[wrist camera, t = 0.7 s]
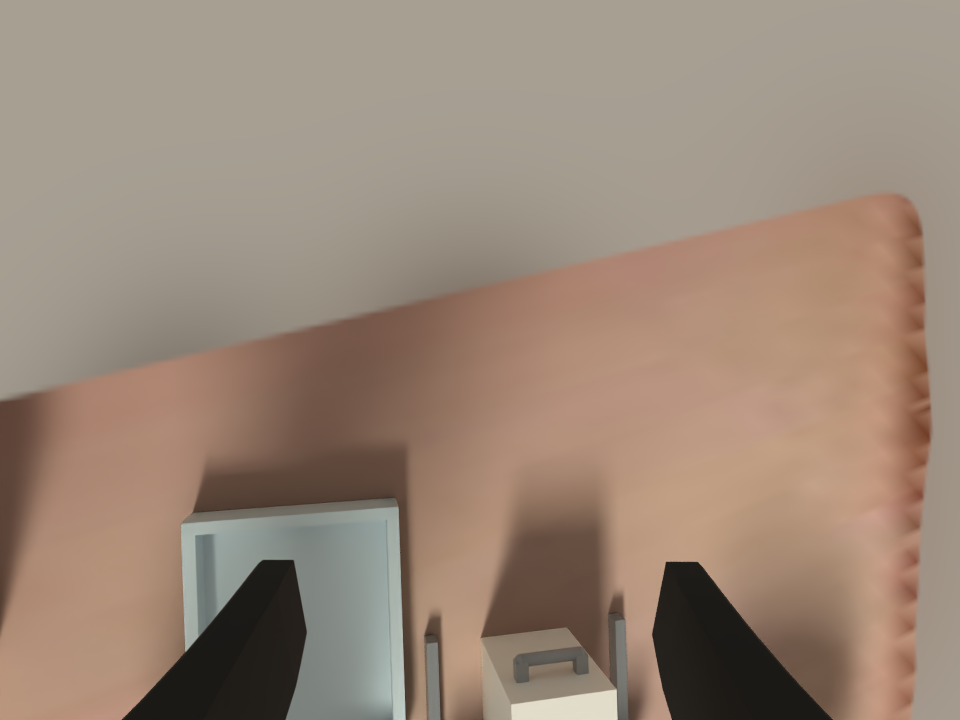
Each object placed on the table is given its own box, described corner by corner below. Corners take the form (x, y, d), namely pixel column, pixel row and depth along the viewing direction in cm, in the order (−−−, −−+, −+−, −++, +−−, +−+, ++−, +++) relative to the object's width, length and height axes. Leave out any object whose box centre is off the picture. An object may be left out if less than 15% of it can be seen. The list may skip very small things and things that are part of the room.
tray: (403, 742, 34) (407, 768, 32) (201, 773, 32) (190, 802, 30) (395, 497, 34) (398, 506, 32) (192, 512, 32) (180, 523, 30)
